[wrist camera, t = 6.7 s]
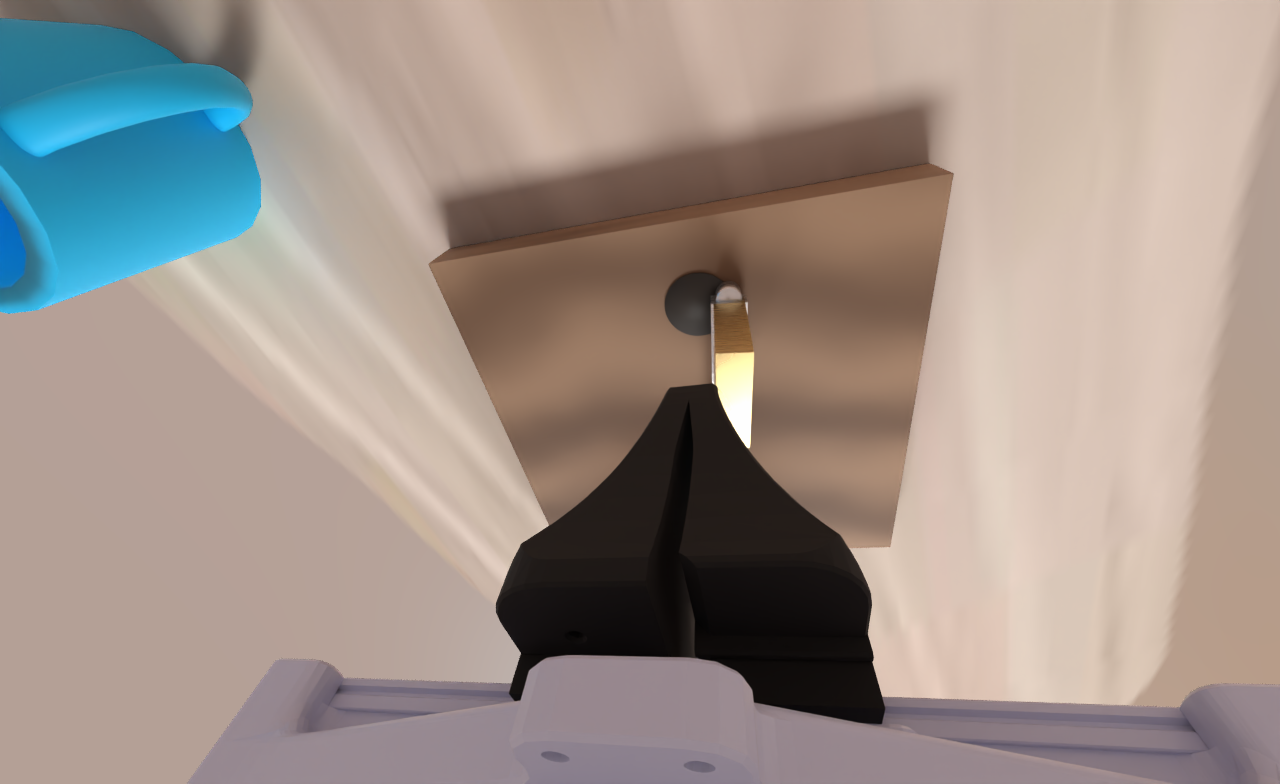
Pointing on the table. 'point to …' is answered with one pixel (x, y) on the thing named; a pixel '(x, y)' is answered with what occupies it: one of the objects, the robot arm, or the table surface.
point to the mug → (112, 159)
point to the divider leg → (733, 355)
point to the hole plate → (681, 335)
